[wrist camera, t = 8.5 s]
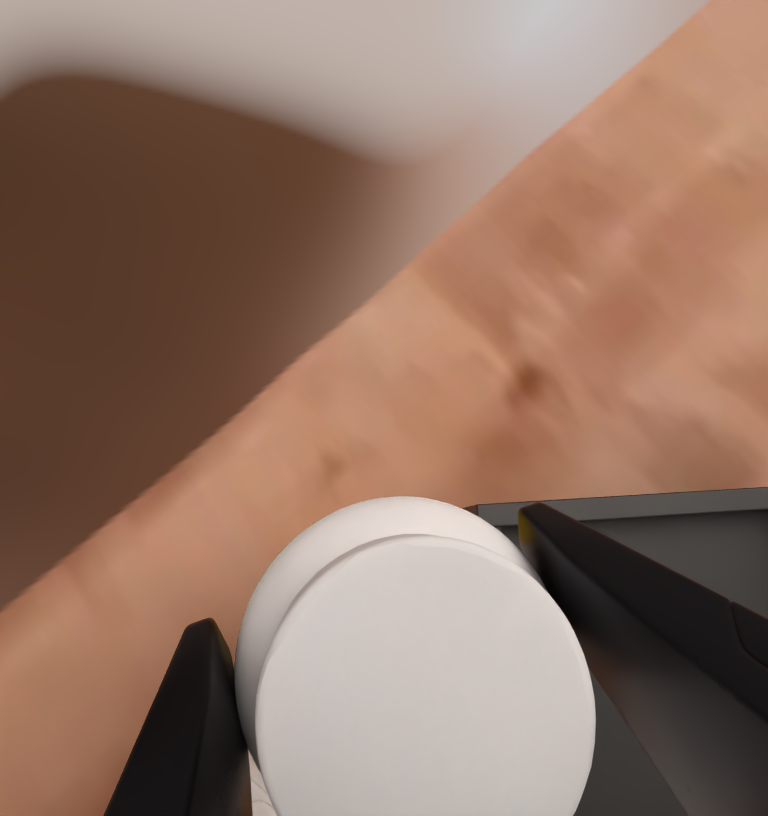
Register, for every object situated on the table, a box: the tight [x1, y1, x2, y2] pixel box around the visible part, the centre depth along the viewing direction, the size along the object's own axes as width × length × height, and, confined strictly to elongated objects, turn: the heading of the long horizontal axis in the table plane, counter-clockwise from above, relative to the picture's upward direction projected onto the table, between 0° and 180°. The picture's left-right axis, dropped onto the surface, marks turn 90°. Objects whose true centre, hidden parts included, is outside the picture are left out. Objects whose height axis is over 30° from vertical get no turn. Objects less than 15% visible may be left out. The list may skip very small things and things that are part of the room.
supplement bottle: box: [234, 496, 596, 816], centre depth 12 cm, size 5×5×10 cm
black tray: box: [462, 487, 768, 816], centre depth 22 cm, size 14×15×3 cm
